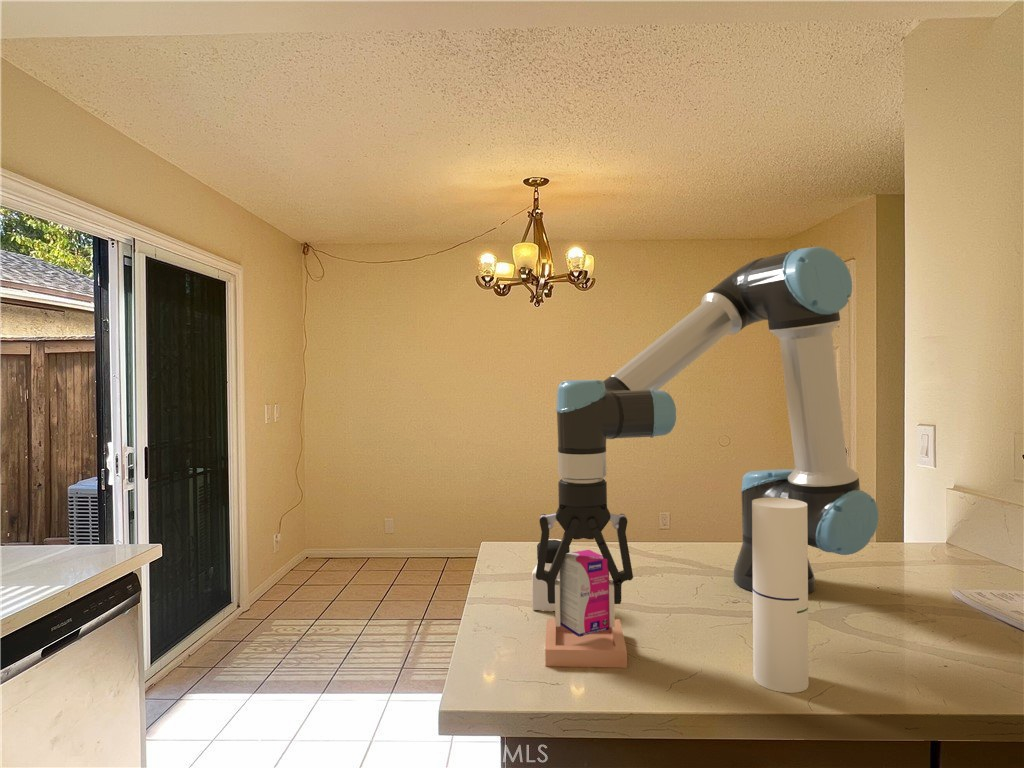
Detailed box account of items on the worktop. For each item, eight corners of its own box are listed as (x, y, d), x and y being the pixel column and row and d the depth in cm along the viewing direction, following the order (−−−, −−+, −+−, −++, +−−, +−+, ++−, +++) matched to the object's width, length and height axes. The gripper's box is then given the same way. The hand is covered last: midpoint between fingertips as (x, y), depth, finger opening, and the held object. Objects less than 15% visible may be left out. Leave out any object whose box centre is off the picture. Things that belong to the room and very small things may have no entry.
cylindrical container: (744, 669, 94) (743, 498, 94) (791, 667, 95) (790, 496, 94) (768, 694, 87) (766, 509, 87) (819, 691, 88) (817, 507, 87)
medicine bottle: (571, 613, 117) (570, 547, 117) (532, 611, 119) (531, 545, 118) (575, 599, 124) (574, 537, 124) (538, 597, 126) (537, 535, 125)
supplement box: (579, 638, 98) (578, 563, 98) (559, 625, 103) (557, 553, 103) (611, 630, 101) (609, 557, 101) (589, 618, 106) (588, 548, 106)
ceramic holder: (619, 634, 108) (619, 619, 108) (627, 667, 96) (626, 650, 96) (547, 633, 109) (547, 618, 109) (545, 666, 97) (545, 649, 97)
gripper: (645, 474, 105) (647, 615, 105) (518, 475, 106) (520, 613, 107) (652, 482, 97) (654, 634, 98) (515, 483, 99) (517, 632, 99)
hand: (584, 623), depth 102 cm, fingers closed on supplement box, 8 cm apart
